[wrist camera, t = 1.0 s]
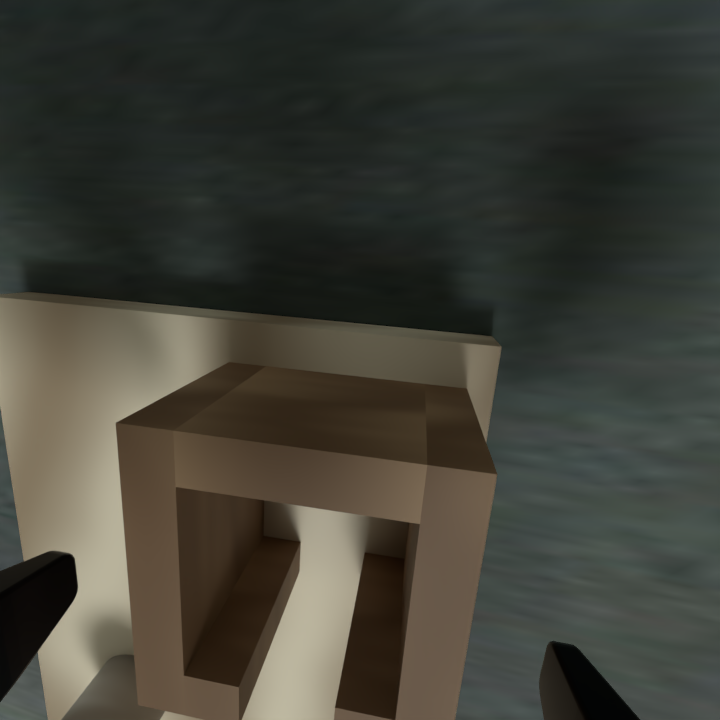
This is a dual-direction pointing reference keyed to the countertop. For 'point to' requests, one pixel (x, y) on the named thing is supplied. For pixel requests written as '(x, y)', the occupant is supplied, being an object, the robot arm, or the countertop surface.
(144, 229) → the countertop surface
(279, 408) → the slotted channel bracket
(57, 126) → the countertop surface
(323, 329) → the plate
